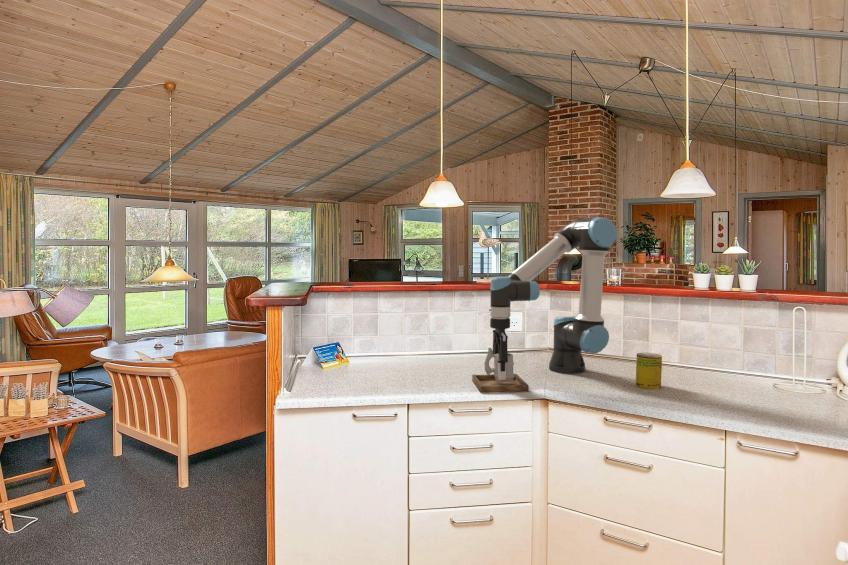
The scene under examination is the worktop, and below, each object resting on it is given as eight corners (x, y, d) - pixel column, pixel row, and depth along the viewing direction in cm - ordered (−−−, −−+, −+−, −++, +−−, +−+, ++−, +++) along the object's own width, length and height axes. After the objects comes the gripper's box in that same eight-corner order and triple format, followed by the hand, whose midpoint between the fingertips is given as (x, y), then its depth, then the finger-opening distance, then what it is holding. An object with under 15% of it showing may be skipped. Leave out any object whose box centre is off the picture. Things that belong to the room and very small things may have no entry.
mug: (511, 383, 207) (512, 351, 206) (481, 380, 212) (481, 349, 211) (516, 378, 214) (516, 347, 213) (486, 375, 219) (487, 345, 218)
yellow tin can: (661, 390, 207) (662, 358, 206) (635, 387, 210) (636, 356, 209) (660, 384, 215) (661, 353, 214) (635, 381, 218) (636, 351, 217)
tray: (516, 379, 222) (516, 373, 221) (528, 391, 205) (528, 385, 205) (472, 380, 220) (472, 374, 220) (480, 392, 203) (480, 386, 203)
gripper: (485, 313, 220) (484, 370, 222) (496, 321, 200) (495, 384, 202) (503, 313, 221) (502, 369, 223) (516, 321, 200) (516, 383, 202)
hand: (499, 376), depth 212 cm, fingers closed on mug, 7 cm apart
